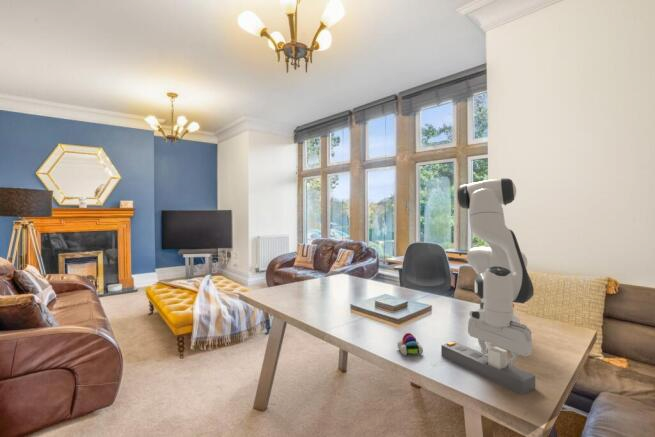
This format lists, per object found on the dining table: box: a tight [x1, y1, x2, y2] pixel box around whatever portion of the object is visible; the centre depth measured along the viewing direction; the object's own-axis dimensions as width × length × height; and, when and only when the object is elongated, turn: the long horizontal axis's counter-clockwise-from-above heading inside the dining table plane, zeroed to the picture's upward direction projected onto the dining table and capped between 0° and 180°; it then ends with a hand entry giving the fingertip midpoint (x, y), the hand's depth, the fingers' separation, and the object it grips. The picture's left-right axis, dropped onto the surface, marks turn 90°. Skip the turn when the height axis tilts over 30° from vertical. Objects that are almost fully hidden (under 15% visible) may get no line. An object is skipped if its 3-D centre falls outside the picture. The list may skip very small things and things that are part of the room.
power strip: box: [440, 340, 536, 396], centre depth 111 cm, size 7×30×6 cm, turn 30°
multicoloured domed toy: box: [397, 332, 424, 357], centre depth 127 cm, size 8×10×7 cm
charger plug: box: [487, 345, 508, 370], centre depth 106 cm, size 4×4×9 cm
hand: (497, 358), depth 106 cm, fingers open, 8 cm apart
